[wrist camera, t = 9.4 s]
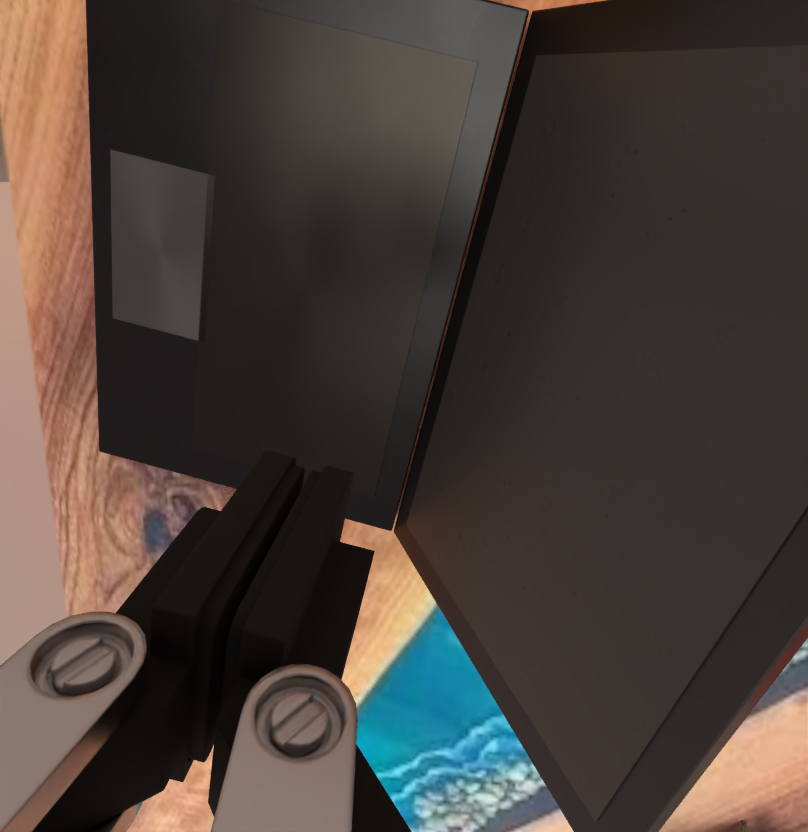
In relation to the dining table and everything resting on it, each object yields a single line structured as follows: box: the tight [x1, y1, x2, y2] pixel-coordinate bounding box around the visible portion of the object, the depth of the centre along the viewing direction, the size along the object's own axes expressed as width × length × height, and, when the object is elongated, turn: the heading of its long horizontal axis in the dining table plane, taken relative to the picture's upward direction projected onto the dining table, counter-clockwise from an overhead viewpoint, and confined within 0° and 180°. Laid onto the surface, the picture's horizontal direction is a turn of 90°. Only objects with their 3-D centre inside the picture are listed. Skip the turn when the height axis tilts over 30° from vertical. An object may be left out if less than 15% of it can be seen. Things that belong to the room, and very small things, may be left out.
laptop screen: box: [394, 0, 808, 832], centre depth 19 cm, size 17×24×1 cm
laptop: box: [86, 0, 529, 531], centre depth 26 cm, size 17×24×2 cm
